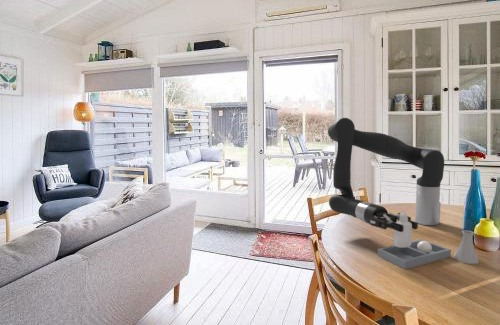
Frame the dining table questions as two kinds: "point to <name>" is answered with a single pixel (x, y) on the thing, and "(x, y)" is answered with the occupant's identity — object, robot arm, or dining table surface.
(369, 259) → the dining table surface
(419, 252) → the holder
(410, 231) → the eye dropper bottle
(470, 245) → the flask
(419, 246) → the ceramic egg
